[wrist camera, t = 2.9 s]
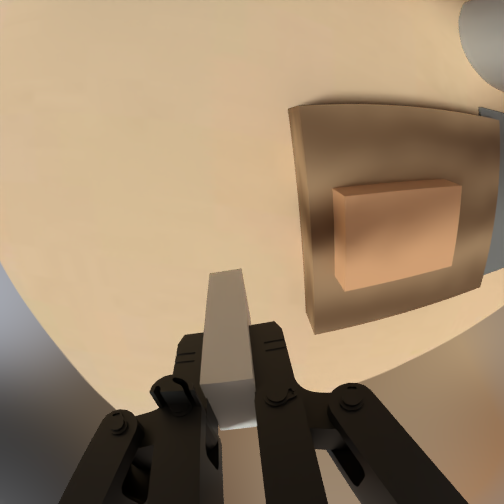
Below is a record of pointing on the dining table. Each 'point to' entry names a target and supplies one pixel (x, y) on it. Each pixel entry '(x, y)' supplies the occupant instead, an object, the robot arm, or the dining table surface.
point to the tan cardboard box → (394, 230)
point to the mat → (500, 250)
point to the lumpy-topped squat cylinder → (484, 38)
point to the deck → (385, 171)
